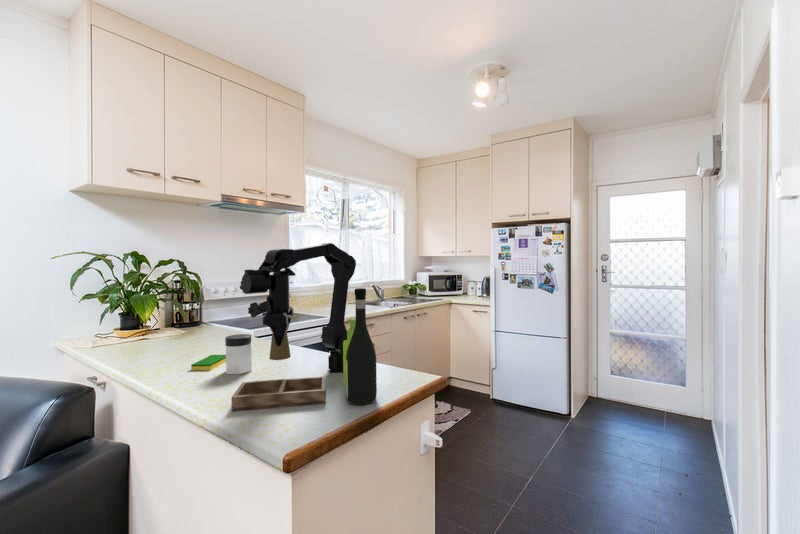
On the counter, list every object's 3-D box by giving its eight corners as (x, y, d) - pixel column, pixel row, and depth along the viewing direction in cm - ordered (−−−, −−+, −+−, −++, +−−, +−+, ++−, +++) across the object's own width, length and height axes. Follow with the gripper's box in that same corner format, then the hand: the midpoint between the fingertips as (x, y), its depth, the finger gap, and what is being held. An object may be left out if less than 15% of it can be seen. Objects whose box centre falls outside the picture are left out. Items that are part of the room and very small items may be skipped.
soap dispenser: (368, 381, 113) (367, 317, 113) (356, 388, 107) (355, 320, 107) (352, 379, 116) (351, 316, 116) (339, 386, 110) (338, 319, 109)
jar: (252, 372, 124) (252, 337, 123) (226, 376, 120) (225, 339, 120) (250, 366, 132) (250, 332, 132) (225, 369, 128) (225, 335, 128)
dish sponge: (190, 371, 127) (190, 364, 127) (211, 360, 141) (211, 354, 141) (211, 371, 127) (211, 364, 127) (229, 360, 141) (229, 354, 141)
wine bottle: (340, 402, 97) (338, 289, 96) (358, 393, 103) (357, 287, 103) (364, 408, 92) (363, 290, 92) (382, 398, 99) (381, 288, 99)
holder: (325, 388, 108) (325, 376, 108) (325, 403, 96) (325, 390, 96) (242, 394, 104) (242, 381, 103) (231, 411, 92) (231, 397, 92)
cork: (293, 354, 112) (293, 319, 112) (285, 360, 106) (284, 322, 106) (275, 354, 112) (274, 318, 112) (265, 359, 106) (264, 322, 106)
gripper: (257, 289, 117) (258, 338, 117) (242, 295, 98) (243, 353, 98) (293, 289, 118) (294, 337, 119) (285, 294, 100) (286, 350, 100)
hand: (280, 343), depth 109 cm, fingers closed on cork, 4 cm apart
